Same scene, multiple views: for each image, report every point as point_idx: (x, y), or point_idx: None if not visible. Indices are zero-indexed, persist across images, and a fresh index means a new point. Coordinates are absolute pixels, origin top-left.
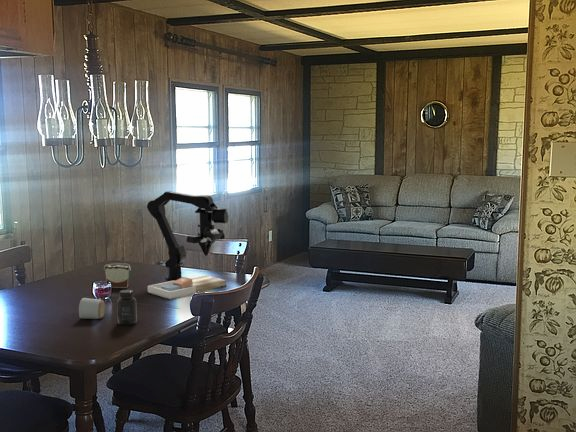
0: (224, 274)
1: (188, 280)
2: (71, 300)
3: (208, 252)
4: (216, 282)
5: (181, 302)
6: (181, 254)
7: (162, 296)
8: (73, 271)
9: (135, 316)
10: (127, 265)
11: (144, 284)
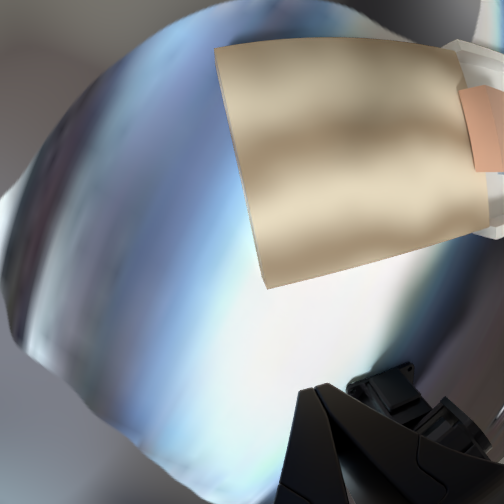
0: (86, 362)
1: (494, 89)
2: None
3: (293, 423)
4: (311, 38)
5: (489, 14)
6: (470, 453)
7: None
8: None
9: None
10: None
11: (497, 340)
